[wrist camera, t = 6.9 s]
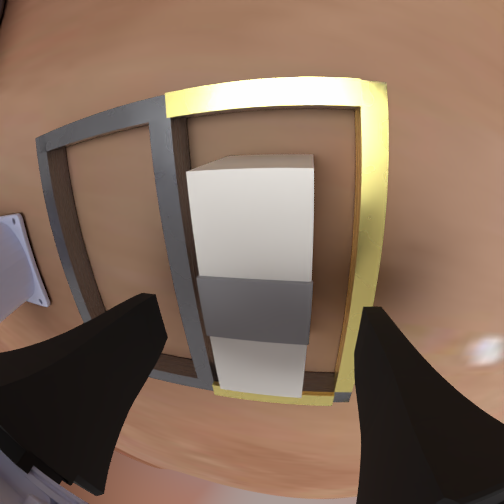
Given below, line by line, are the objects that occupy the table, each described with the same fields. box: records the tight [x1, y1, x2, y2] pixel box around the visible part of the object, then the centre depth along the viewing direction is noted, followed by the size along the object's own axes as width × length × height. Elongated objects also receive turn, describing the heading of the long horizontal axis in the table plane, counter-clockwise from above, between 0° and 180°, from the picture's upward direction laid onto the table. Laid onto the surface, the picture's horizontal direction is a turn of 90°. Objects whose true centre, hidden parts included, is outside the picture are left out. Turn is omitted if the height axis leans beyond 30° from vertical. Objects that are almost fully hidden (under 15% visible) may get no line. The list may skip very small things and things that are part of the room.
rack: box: [36, 77, 389, 406], centre depth 13 cm, size 17×16×2 cm
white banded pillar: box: [186, 154, 314, 398], centre depth 11 cm, size 4×9×5 cm, turn 3°
